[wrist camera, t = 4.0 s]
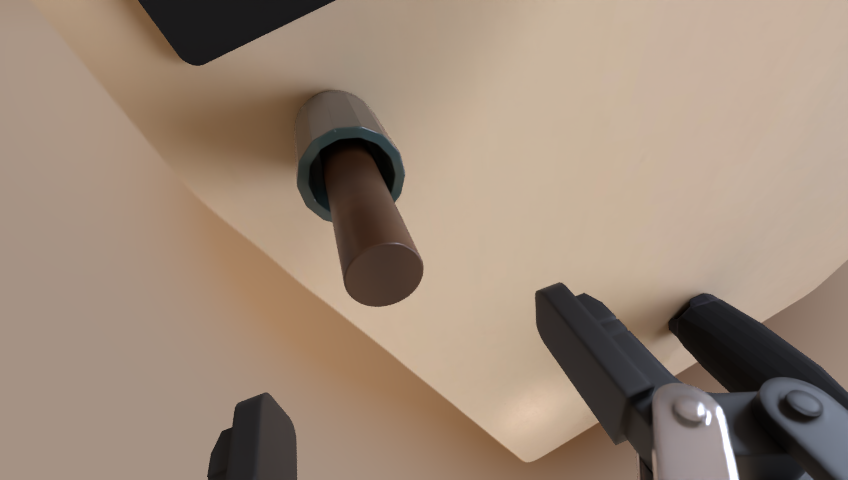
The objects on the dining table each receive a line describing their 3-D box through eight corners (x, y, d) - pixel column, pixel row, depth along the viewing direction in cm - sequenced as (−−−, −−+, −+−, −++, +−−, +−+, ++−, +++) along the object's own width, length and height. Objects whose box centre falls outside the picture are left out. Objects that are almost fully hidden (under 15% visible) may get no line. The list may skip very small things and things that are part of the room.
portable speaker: (724, 281, 54) (899, 401, 39) (706, 323, 60) (853, 443, 44) (672, 301, 53) (832, 434, 38) (659, 342, 59) (793, 473, 43)
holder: (313, 181, 29) (321, 238, 22) (280, 103, 25) (278, 146, 19) (386, 157, 29) (414, 207, 23) (364, 78, 26) (389, 111, 19)
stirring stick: (325, 161, 27) (358, 317, 15) (309, 121, 26) (332, 260, 13) (365, 148, 28) (431, 291, 15) (352, 108, 26) (414, 232, 13)
